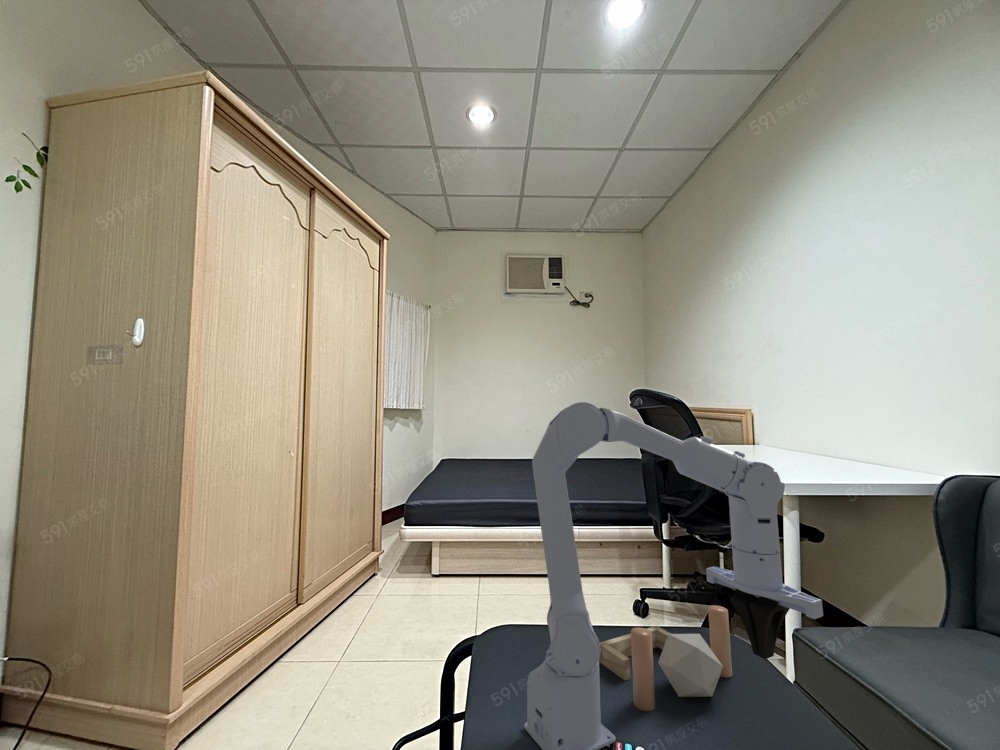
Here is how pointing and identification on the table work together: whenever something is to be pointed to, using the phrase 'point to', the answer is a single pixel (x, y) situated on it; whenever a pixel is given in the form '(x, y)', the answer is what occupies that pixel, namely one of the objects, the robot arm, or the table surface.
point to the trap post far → (720, 637)
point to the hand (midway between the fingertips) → (763, 654)
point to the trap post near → (642, 669)
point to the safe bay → (626, 651)
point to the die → (690, 665)
